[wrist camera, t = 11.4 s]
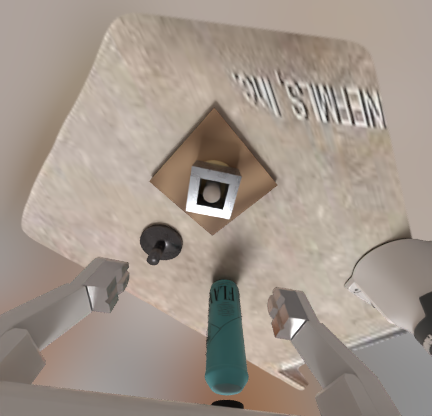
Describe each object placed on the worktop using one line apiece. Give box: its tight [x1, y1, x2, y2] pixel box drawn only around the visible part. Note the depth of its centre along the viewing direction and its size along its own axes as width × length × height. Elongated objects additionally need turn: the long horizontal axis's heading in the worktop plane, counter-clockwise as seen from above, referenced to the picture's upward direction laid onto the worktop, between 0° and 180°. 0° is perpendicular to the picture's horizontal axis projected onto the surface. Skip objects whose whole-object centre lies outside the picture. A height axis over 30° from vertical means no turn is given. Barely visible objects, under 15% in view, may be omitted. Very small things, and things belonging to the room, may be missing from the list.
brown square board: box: [149, 108, 277, 235], centre depth 23 cm, size 14×14×6 cm
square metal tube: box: [186, 160, 242, 219], centre depth 22 cm, size 6×6×4 cm
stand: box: [140, 225, 183, 265], centre depth 29 cm, size 8×8×5 cm
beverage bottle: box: [205, 280, 248, 409], centre depth 27 cm, size 6×7×20 cm
